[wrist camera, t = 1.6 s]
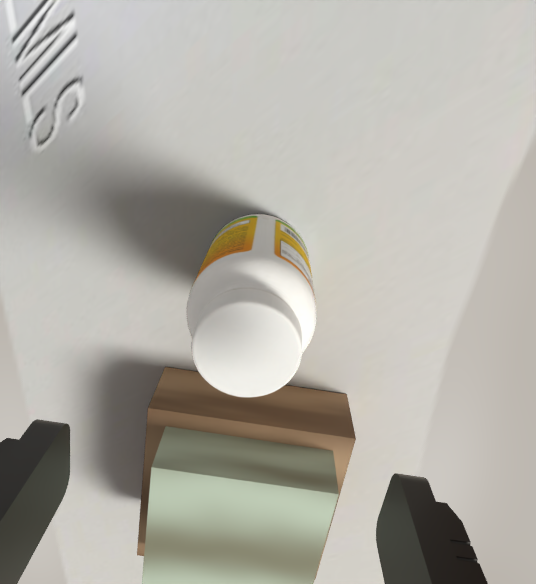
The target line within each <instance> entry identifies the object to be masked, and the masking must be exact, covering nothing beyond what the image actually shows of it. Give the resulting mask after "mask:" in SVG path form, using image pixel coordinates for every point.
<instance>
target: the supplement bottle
mask: <svg viewBox="0 0 536 584" xmlns="http://www.w3.org/2000/svg"><path fill="white" fill-rule="evenodd" d="M187 322H188V327H189V330H190V333H191V336H192V344H191V349H192V357H193V361H194V364H195V366H196V368H197V370H198V371H199V373H200V374H201V376H202V377H203V378H204V379H205V380H206V381H207V382H208V383H209V384H210V385H212V386H213V387H214V388H216V389H218V390H220V391H222V392H224V393H226V394H229V395H233V396H237V397H258V396H264V395H267V394H270V393H272V392H274V391H277V390H278V389H280V388H281V387H283V386H284V385H285V384H287V383H288V382H289V381H290V380H291V378H292V377H293V376H294V374H295V372H296V371H297V369H298V367H299V364H300V361H301V356H302V353H303V352H304V351H305V349H306V348H307V346H308V345H309V343H310V341H311V339H312V336H313V333H314V330H315V326H316V302H315V296H314V289H313V282H312V275H311V268H310V261H309V256H308V252H307V249H306V246H305V244H304V242H303V240H302V238H301V236H300V235H299V234H298V232H297V231H296V230H295V229H294V228H293V227H292V226H290V225H289V224H288V223H286V222H285V221H283V220H281V219H279V218H276V217H273V216H270V215H264V214H252V215H246V216H243V217H240V218H237V219H235V220H233V221H231V222H230V223H228V224H227V225H225V226H224V227H223V228H222V229H221V230H220V231H219V232H218V234H217V235H216V236H215V238H214V240H213V242H212V243H211V245H210V248H209V250H208V252H207V255H206V257H205V259H204V261H203V264H202V266H201V268H200V270H199V272H198V275H197V277H196V279H195V281H194V284H193V286H192V288H191V291H190V294H189V298H188V302H187Z"/></svg>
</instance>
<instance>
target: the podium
mask: <svg viewBox="0 0 536 584" xmlns="http://www.w3.org/2000/svg"><path fill="white" fill-rule="evenodd" d="M355 440H356V438H355V433H354V428H353V423H352V418H351V413H350V408H349V403H348V398H347V394H341V393H334V392H328V391H321V390H315V389H308V388H301V387H295V386H288V385H284V386H283V387H281V388H280V389H278V390H277V391H274V392H272V393H270V394H267V395H264V396H258V397H237V396H233V395H229V394H226V393H224V392H222V391H220V390H218V389H216V388H214V387H213V386H212V385H210V384H209V383H208V382H207V381H206V380H205V379H204V378H203V377H202V376H201V374H200V373H199V372H196V371H189V370H183V369H176V368H169V367H165V368H164V371H163V373H162V376H161V378H160V380H159V383H158V385H157V388H156V390H155V392H154V395H153V397H152V399H151V402H150V404H149V407H148V414H147V427H146V441H145V454H144V468H143V481H142V495H141V508H140V522H139V535H138V549H137V555H140V556H144V564H143V576H142V584H313V582H314V580H315V578H316V575H317V571H318V568H319V564H320V561H321V557H322V554H323V550H324V547H325V543H326V540H327V537H328V533H329V530H330V526H331V523H332V519H333V516H334V512H335V509H336V505H337V502H338V498H339V495H340V491H341V488H342V485H343V481H344V478H345V474H346V471H347V467H348V464H349V460H350V457H351V453H352V450H353V446H354V443H355Z"/></svg>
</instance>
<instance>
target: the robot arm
mask: <svg viewBox="0 0 536 584" xmlns="http://www.w3.org/2000/svg"><path fill="white" fill-rule="evenodd" d="M69 475H70V427H69V425H68V424H65V423H58V422H51V421H44V420H35V421H33V422H32V424H31V425H30V426H29V427H28V429H27V430H26V432H25V433H24V434H23V435H22V437H21V438H20V439H19V440H17V439H11V438H6V439H5V440H3V441H2V442H0V584H17V583H18V581H19V579H20V577H21V575H22V574H23V572H24V570H25V568H26V566H27V564H28V562H29V560H30V559H31V557H32V555H33V553H34V551H35V549H36V547H37V546H38V544H39V542H40V540H41V538H42V536H43V534H44V533H45V531H46V529H47V527H48V525H49V523H50V522H51V520H52V518H53V516H54V514H55V512H56V510H57V509H58V507H59V505H60V503H61V501H62V499H63V497H64V495H65V492H66V489H67V485H68V481H69ZM376 541H377V548H378V553H379V558H380V563H381V567H382V572H383V577H384V582H385V584H487V581H486V579H485V576H484V574H483V572H482V569H481V567H480V564H479V563H477V557H476V554H475V552H474V550H473V547H472V546H470V540H469V538H468V535H467V533H466V530H465V528H464V525H463V523H462V521H461V520H460V519H459V518H458V516H457V515H456V514H455V513H454V512H453V510H452V509H451V508H450V507H449V506H448V504H447V503H441V502H436V501H435V498H434V495H433V493H432V490H431V487H430V485H429V482H428V481H427V479H426V478H423V477H417V476H410V475H403V474H394V475H393V476H392V478H391V481H390V484H389V487H388V490H387V493H386V496H385V499H384V502H383V505H382V508H381V511H380V514H379V517H378V521H377V528H376Z"/></svg>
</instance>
